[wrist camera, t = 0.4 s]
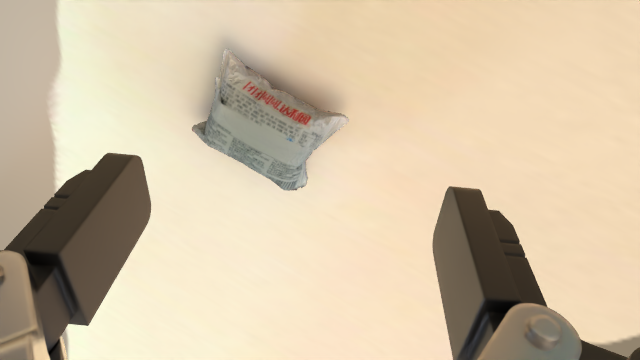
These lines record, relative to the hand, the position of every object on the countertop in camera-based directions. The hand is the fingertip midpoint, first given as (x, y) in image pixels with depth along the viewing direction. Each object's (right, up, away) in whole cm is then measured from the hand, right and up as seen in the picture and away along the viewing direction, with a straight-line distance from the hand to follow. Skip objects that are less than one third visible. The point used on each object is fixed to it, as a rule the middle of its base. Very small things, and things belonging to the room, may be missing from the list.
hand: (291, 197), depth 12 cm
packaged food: (-4, +7, +29) cm, 30 cm away
